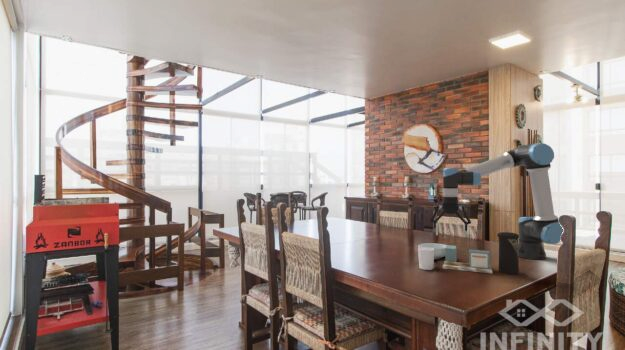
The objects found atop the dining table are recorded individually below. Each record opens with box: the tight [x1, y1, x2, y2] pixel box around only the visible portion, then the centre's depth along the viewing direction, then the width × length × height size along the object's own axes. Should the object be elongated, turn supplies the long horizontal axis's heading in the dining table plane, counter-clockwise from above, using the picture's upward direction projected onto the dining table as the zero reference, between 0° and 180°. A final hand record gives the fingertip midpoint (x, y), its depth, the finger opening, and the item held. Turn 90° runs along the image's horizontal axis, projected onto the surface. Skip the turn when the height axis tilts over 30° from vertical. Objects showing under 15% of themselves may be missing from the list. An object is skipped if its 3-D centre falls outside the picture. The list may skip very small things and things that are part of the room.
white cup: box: [417, 247, 435, 271], centre depth 178 cm, size 8×8×10 cm
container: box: [497, 231, 520, 276], centre depth 166 cm, size 9×9×20 cm
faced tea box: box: [468, 248, 491, 269], centre depth 171 cm, size 5×9×9 cm, turn 65°
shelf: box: [442, 260, 493, 274], centre depth 173 cm, size 22×10×2 cm, turn 65°
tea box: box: [444, 244, 457, 262], centre depth 187 cm, size 5×9×9 cm, turn 155°
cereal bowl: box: [417, 242, 447, 260], centre depth 201 cm, size 17×17×7 cm
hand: (450, 236), depth 187 cm, fingers open, 13 cm apart
